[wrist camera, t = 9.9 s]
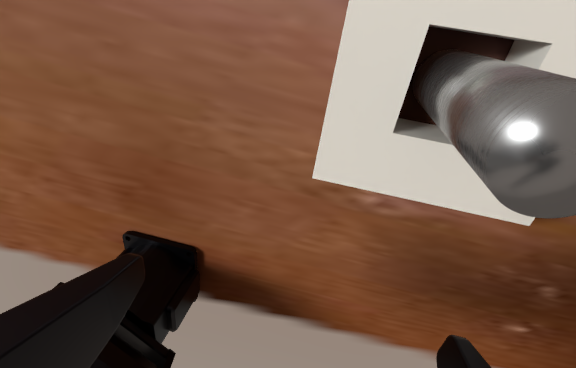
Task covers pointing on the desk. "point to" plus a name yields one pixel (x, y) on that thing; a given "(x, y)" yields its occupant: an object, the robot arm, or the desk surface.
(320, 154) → the hole block
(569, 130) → the metal peg
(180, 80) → the desk surface
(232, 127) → the desk surface
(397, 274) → the desk surface
